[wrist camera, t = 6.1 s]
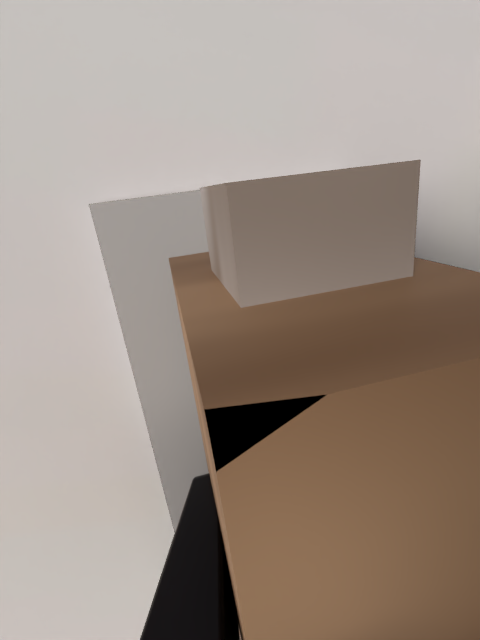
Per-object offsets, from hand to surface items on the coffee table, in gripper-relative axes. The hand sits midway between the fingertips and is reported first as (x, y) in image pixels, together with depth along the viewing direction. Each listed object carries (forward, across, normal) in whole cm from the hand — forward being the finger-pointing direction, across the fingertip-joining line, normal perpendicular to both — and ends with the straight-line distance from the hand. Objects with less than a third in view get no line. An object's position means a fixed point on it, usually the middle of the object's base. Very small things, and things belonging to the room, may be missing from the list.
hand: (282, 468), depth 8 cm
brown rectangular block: (+1, 0, 0) cm, 1 cm away
